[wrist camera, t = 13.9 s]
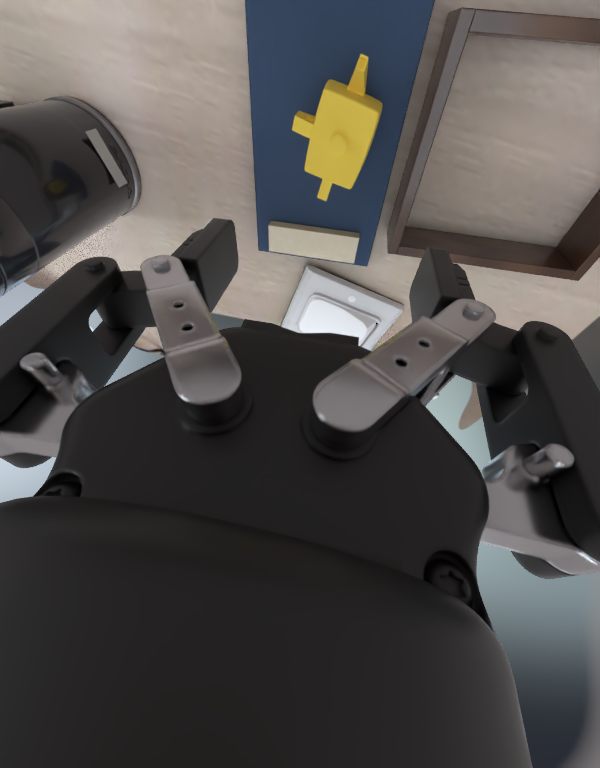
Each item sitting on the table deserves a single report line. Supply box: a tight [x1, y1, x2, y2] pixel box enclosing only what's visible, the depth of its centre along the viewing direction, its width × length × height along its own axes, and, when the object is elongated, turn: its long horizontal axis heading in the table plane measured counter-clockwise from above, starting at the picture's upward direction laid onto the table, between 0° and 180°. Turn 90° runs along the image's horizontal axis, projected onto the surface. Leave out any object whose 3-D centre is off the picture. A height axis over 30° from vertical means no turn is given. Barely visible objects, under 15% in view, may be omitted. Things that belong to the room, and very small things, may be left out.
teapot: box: [292, 54, 383, 201], centre depth 21 cm, size 8×6×5 cm
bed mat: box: [245, 0, 435, 266], centre depth 23 cm, size 12×20×2 cm, turn 177°
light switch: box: [281, 265, 404, 350], centre depth 37 cm, size 11×4×13 cm
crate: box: [387, 8, 600, 281], centre depth 22 cm, size 17×14×4 cm
